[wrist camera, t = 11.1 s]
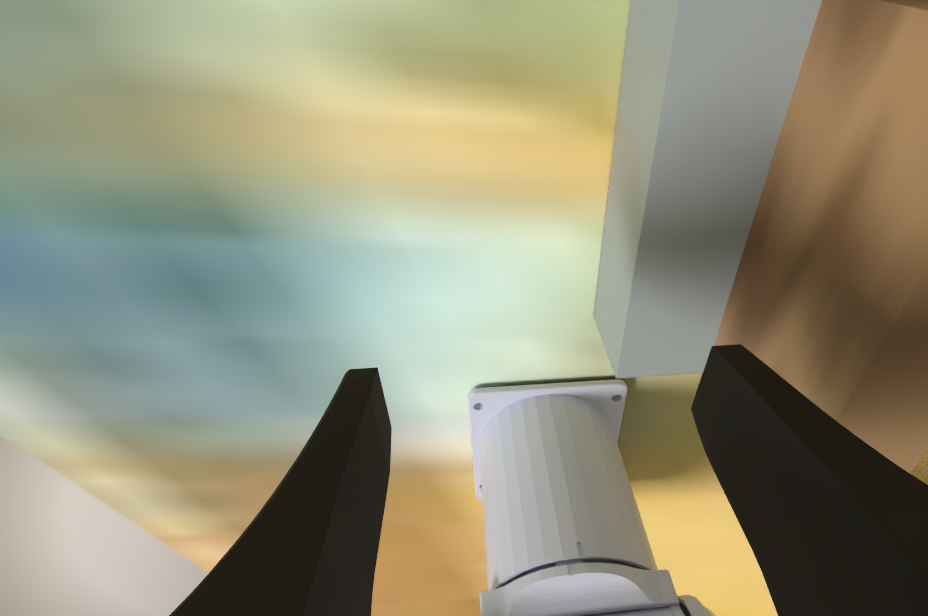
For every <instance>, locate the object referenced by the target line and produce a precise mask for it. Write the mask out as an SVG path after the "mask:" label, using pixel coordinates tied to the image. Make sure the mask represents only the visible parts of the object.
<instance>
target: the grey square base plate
mask: <svg viewBox="0 0 928 616" xmlns="http://www.w3.org/2000/svg"><path fill="white" fill-rule="evenodd" d="M821 2H822V0H631V1H630V10H629V18H628V27H627V35H626V44H625V52H624V61H623V69H622V78H621V86H620V94H619V103H618V111H617V120H616V128H615V137H614V145H613V154H612V162H611V171H610V179H609V188H608V196H607V205H606V213H605V222H604V230H603V239H602V247H601V255H600V264H599V272H598V281H597V289H596V298H595V306H594V315H593V316H594V319H595V321H596V324H597V327H598V330H599V332H600V335H601V338H602V341H603V344H604V346H605V349H606V352H607V355H608V357H609V360H610V363H611V366H612V368H613V371H614V374H615V377H616V378H631V377H647V376H663V375H680V374H696V373H703V371H704V368H705V365H706V362H707V359H708V356H709V353H710V350H711V347H712V346H714V343H715V340H716V337H717V333H718V330H719V327H720V324H721V321H722V317H723V314H724V311H725V308H726V305H727V302H728V298H729V295H730V292H731V289H732V286H733V282H734V279H735V276H736V273H737V270H738V266H739V263H740V260H741V257H742V254H743V251H744V247H745V244H746V241H747V238H748V235H749V231H750V228H751V225H752V222H753V219H754V215H755V212H756V209H757V206H758V203H759V200H760V196H761V193H762V190H763V187H764V184H765V180H766V177H767V174H768V171H769V168H770V164H771V161H772V158H773V155H774V152H775V149H776V145H777V142H778V139H779V136H780V133H781V129H782V126H783V123H784V120H785V117H786V113H787V110H788V107H789V104H790V101H791V98H792V94H793V91H794V88H795V85H796V82H797V78H798V75H799V72H800V69H801V66H802V62H803V59H804V56H805V53H806V50H807V47H808V43H809V40H810V37H811V34H812V31H813V27H814V24H815V21H816V18H817V15H818V11H819V8H820V5H821Z"/></svg>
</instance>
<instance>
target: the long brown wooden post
mask: <svg viewBox="0 0 928 616" xmlns="http://www.w3.org/2000/svg"><path fill="white" fill-rule="evenodd" d="M735 344H741V345H742V346H744V347H745V348H746V349H747V350H749V351H750V352H751V353H753V354H754V355H755V356H756V357H758V358H759V359H760V360H761V361H762V362H764V363H765V364H766V365H767V366H769V367H770V368H771V369H772V370H773V371H775V372H776V373H777V374H778V375H780V376H781V377H782V378H783V379H784V380H786V381H787V382H788V383H789V384H791V385H792V386H793V387H794V388H795V389H797V390H798V391H799V392H800V393H802V394H803V395H804V396H805V397H807V398H808V399H809V400H810V401H812V402H813V403H814V404H815V405H817V406H818V407H819V408H820V409H822V410H823V411H824V412H826V413H827V414H828V415H829V416H831V417H832V418H833V419H835V420H836V421H837V422H838V423H840V424H841V425H842V426H844V427H845V428H846V429H848V430H849V431H850V432H852V433H853V434H854V435H856V436H857V437H858V438H860V439H861V440H863V441H864V442H865V443H867V444H868V445H870V446H871V447H872V448H874V449H875V450H877V451H878V452H879V453H881V454H882V455H884V456H885V457H886V458H888V459H889V460H891V461H892V462H893V463H895V464H896V465H898V466H899V467H901V468H902V469H904V470H905V471H907V472H908V473H910V474H911V472H912V471H913V470H914V469H915V467H916V466H917V465H918V463H919V462H920V461H921V460H922V458H923V457H924V456H925V454H926V453H927V452H928V0H822V2H821V5H820V8H819V11H818V15H817V18H816V21H815V24H814V27H813V31H812V34H811V37H810V40H809V43H808V47H807V50H806V53H805V56H804V59H803V62H802V66H801V69H800V72H799V75H798V78H797V82H796V85H795V88H794V91H793V94H792V98H791V101H790V104H789V107H788V110H787V113H786V117H785V120H784V123H783V126H782V129H781V133H780V136H779V139H778V142H777V145H776V149H775V152H774V155H773V158H772V161H771V164H770V168H769V171H768V174H767V177H766V180H765V184H764V187H763V190H762V193H761V196H760V200H759V203H758V206H757V209H756V212H755V215H754V219H753V222H752V225H751V228H750V231H749V235H748V238H747V241H746V244H745V247H744V251H743V254H742V257H741V260H740V263H739V266H738V270H737V273H736V276H735V279H734V282H733V286H732V289H731V292H730V295H729V298H728V302H727V305H726V308H725V311H724V314H723V317H722V321H721V324H720V327H719V330H718V333H717V337H716V340H715V343H714V346H719V345H735Z"/></svg>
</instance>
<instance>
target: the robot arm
mask: <svg viewBox="0 0 928 616" xmlns="http://www.w3.org/2000/svg"><path fill="white" fill-rule="evenodd" d="M627 391H628V389H627V385H626V383H625V382H624V381H623V380H619V379H615V380H599V381H582V382H566V383H550V384H534V385H517V386H501V387H485V388H475V389H472V390H470V392H469V393H468V404H469V416H470V429H471V441H472V453H473V466H474V478H475V490H476V497H477V498H478V499H479V500H483V516H484V532H485V549H486V565H487V581H488V591H484V592H481V593H480V610H481V616H716V615H715V614H714V613H713V612H712V611H710V610H709V609H708V608H706V607H705V606H704V605H702V603H701V602H700V601H699V600H698V599H697V598H696V597H694V596H692V595H682V596H677V594H676V591H675V588H674V585H673V582H672V579H671V576H670V573H669V571H668V570H658V569H657V566H656V563H655V560H654V557H653V554H652V550H651V547H650V544H649V541H648V538H647V535H646V532H645V529H644V525H643V522H642V519H641V516H640V513H639V510H638V507H637V504H636V500H635V497H634V494H633V491H632V488H631V485H630V482H629V479H628V475H627V472H626V469H625V466H624V463H623V460H622V457H621V454H620V450H619V447H618V444H617V443H618V438H619V432H620V427H621V422H622V417H623V412H624V406H625V401H626V396H627ZM614 395H616V396H614ZM477 403H481V404H477ZM691 410H692V413H693V416H694V420H695V423H696V426H697V429H698V432H699V435H700V438H701V441H702V444H703V447H704V450H705V452H706V455H707V457H708V459H709V461H710V463H711V465H712V467H713V470H714V472H715V474H716V476H717V478H718V480H719V482H720V484H721V486H722V488H723V490H724V492H725V495H726V497H727V499H728V501H729V503H730V505H731V507H732V509H733V511H734V513H735V515H736V517H737V519H738V521H739V523H740V525H741V527H742V529H743V532H744V534H745V536H746V538H747V540H748V542H749V544H750V546H751V548H752V550H753V552H754V555H755V557H756V559H757V561H758V564H759V566H760V568H761V571H762V573H763V576H764V578H765V581H766V584H767V587H768V589H769V592H770V595H771V597H772V600H773V603H774V605H775V608H776V611H777V613H778V616H928V485H927V484H925V483H924V482H922V481H920V480H919V479H917V478H916V477H914V476H913V475H911V474H910V473H908V472H907V471H905V470H904V469H902V468H901V467H899V466H898V465H896V464H895V463H893V462H892V461H891V460H889V459H888V458H886V457H885V456H884V455H882V454H881V453H879V452H878V451H877V450H875V449H874V448H872V447H871V446H870V445H868V444H867V443H865V442H864V441H863V440H861V439H860V438H858V437H857V436H856V435H854V434H853V433H852V432H850V431H849V430H848V429H846V428H845V427H844V426H842V425H841V424H840V423H838V422H837V421H836V420H835V419H833V418H832V417H831V416H829V415H828V414H827V413H826V412H824V411H823V410H822V409H820V408H819V407H818V406H817V405H815V404H814V403H813V402H812V401H810V400H809V399H808V398H807V397H805V396H804V395H803V394H802V393H800V392H799V391H798V390H797V389H795V388H794V387H793V386H792V385H791V384H789V383H788V382H787V381H786V380H784V379H783V378H782V377H781V376H780V375H778V374H777V373H776V372H775V371H773V370H772V369H771V368H770V367H769V366H767V365H766V364H765V363H764V362H762V361H761V360H760V359H759V358H758V357H756V356H755V355H754V354H753V353H751V352H750V351H749V350H747V349H746V348H745V347H744V346H742V345H741V344H735V345H719V346H712V347H711V350H710V353H709V356H708V359H707V362H706V365H705V368H704V371H703V374H702V377H701V380H700V383H699V386H698V389H697V392H696V395H695V398H694V401H693V404H692V408H691ZM390 455H391V424H390V419H389V415H388V411H387V407H386V402H385V398H384V394H383V389H382V385H381V381H380V377H379V372H378V368H365V369H350V370H348V371H347V372H346V373H345V375H344V377H343V379H342V381H341V383H340V385H339V387H338V389H337V391H336V393H335V395H334V397H333V399H332V400H331V402H330V404H329V406H328V408H327V409H326V411H325V413H324V415H323V416H322V418H321V420H320V422H319V423H318V425H317V427H316V428H315V430H314V432H313V433H312V435H311V437H310V438H309V440H308V442H307V443H306V445H305V446H304V448H303V450H302V451H301V453H300V454H299V456H298V458H297V459H296V461H295V462H294V464H293V465H292V467H291V468H290V469H289V471H288V472H287V474H286V475H285V477H284V478H283V480H282V481H281V483H280V484H279V486H278V487H277V488H276V490H275V491H274V493H273V494H272V496H271V497H270V498H269V500H268V501H267V502H266V504H265V505H264V506H263V508H262V509H261V511H260V512H259V513H258V514H257V516H256V517H255V518H254V520H253V521H252V522H251V523H250V525H249V526H248V527H247V529H246V530H245V531H244V532H243V534H242V535H241V536H240V537H239V539H238V540H237V541H236V542H235V543H234V545H233V546H232V547H231V548H230V549H229V550H228V552H227V553H226V554H225V555H224V556H223V557H222V559H221V560H220V561H219V562H218V563H217V564H216V566H215V567H214V568H213V569H212V570H211V571H210V573H209V574H208V575H207V576H206V577H205V579H203V581H202V582H201V583H200V584H199V585H198V586H197V587H196V588H195V589H194V590H193V592H192V593H191V594H190V595H189V596H188V597H187V598H186V599H185V600H184V601H183V602H182V603H181V604H180V605H179V606H178V607H177V608H176V609H175V610H174V611H173V612H172V613H171V615H169V616H371V603H372V591H373V582H374V573H375V566H376V560H377V553H378V547H379V540H380V534H381V527H382V521H383V514H384V508H385V501H386V494H387V487H388V480H389V473H390Z"/></svg>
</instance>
